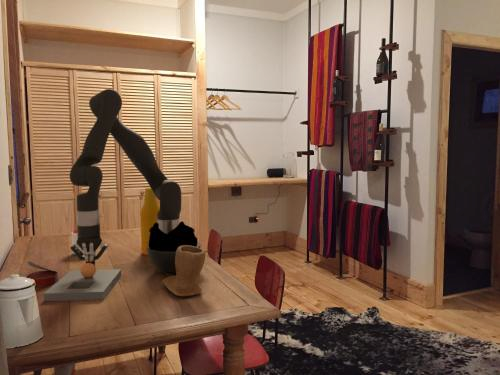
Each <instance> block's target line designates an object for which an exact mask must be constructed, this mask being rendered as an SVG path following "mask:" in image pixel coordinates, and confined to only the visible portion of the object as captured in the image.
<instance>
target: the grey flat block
mask: <svg viewBox="0 0 500 375" xmlns="http://www.w3.org/2000/svg"><path fill="white" fill-rule="evenodd" d="M121 277H122V269H121V268H119V269H117V268H115V269H113V268H112V269H96V272H95V274H94V275H93V276H92V277H90V278H86V277H84V276H82V274H81V269H80V270H78V269H77V270H70V271H68V272H67V273H66V274H65V275H64V276H62V277H61V278H60V279H58V282H56V283H55V284H52V286H50V287H49V289H47V290H46V291H45V292H44V293H43V301H44V302H64V301H67V302H68V301H69V302H70V301H99V300H100V301H101V300H103V301H104V300H105V299H106V297H107V296H108V295H109V293H110V292H111V290H112V289H113V288H114V286H115V285H116V284H117V282H118V281H119V279H120V278H121Z"/></svg>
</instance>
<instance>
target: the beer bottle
mask: <svg viewBox="0 0 500 375" xmlns="http://www.w3.org/2000/svg"><path fill="white" fill-rule="evenodd" d="M143 200H144V202H143V205H142V207H141V209H140V214H139V216H140V218H139V219H140V241H141V243H140V246H141V248H140V251H141V254H142V255H144V256H148V252H147V246H148V245H149V236H150V232H149V230H150V228H151V227H152V226H153V224H154V223H156V222H157V213H158V212H159V210H160V204H159V203H158V198H157V197H156V196H155V194H154V193H153V191H152V189H151V187H146V188H145V190H144V199H143Z"/></svg>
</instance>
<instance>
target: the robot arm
mask: <svg viewBox="0 0 500 375" xmlns="http://www.w3.org/2000/svg"><path fill="white" fill-rule="evenodd" d="M122 99H123V98H122V96H121V95H120V93H119V92H118V91H116V90H115V89H113V88H107V89H104V90H101V91H100V92H98V93H96V94H95V95H93V96H91V97H90V99H89V102H88V105H89V108H90V111H91V113H92V114H93V115H94V116H95V118H96V121H95V123H94V124H93V125H92V127H91V129H90V130H89V133H88V135H86V138H85V141H84V144H83V146H82V150H81V153H80V155H79V156H78V158H77V159H76V161H75V162H74V164H73V165H72V166H71V169H70V171H69V180H70V182H71V184H72V185H73V186H76V187H88V190H87V191H86V192H82V193H78V194H77V196H76V230H77V235H78V239H77V243H76V244H75V245H73V246H72V245H71V246H70V250H71V251H73V252H74V253H75V254H76V257H77V258H78V259H79V260H80V261H85V264H86V263H92V264H93V265H94V266H95V267H96V261H97V260H99V259H100V258H101V256H103V254H104V253H105V252H106V250H107V249H108V247H109V244H108V243H105V242H103V239H102V236H101V218H100V216H101V214H100V209H99V208H100V207H99V196H100V192H101V187H102V183H103V179H104V176H103V171H102V169H101V168H100V167H99V166H97V165H98V164H100V163H101V162H102V160H103V156H104V153H105V151H106V150H105V149H106V144H107V141H108V140H109V139H108V138H109V136H110V135H111V136H112V137H113V139H114V140H115V142H117V144H118V145H119V146H120V149H122V150H123V153H124V154H125V155H126V156H127V158H128V160H130V162H131V163H132V164H133V166H134V167H135V169H137V171H138V172H139V173H140V174H141V176H143V178H144V179H145V180H146V182H147V184H148V185H149V188H151V189H152V191H153V193H154V194H155V196H156V199H157V200H159V207H160V210H159V212H158V213H157V223H159V229H160V230H161V231H163V232H164V233H165V234H168V233H169V232H170V231H172V230H173V229H175V228H176V227H177V225H179V223H180V222H181V219H180V218H181V211H182V190H181V189H182V188H181V186H180V185H179V183H178V182H176V181H174V180H170V179H168V177H167V176H166V175H165V173H164V172H162V170H161V169H160V167H159V166H158V163H157V161H156V157H155V154H154V153H153V151H152V149H151V147H150V146H149V145H148V143H147V141H146V140H145V138H144V137H143V136H142V135H140V134H139V133H138V132H136V131H134V130H133V129H131V128H130V127H128V126H126V125H125V124H124V123H123V122H122V120H120V119H119V118H118V115H119V113H120V111H121V110H122V109H121V108H123V107H122V106H123V100H122ZM79 247H80V248H81V249H82V250H83V253H84V254H83V253H82V251H81V250H80V249H79ZM98 248H100V250H99V251H98V253H97V250H98ZM73 252H72V253H73ZM74 253H73V254H74ZM96 253H97V254H96ZM75 254H74V255H75Z"/></svg>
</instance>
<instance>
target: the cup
mask: <svg viewBox="0 0 500 375" xmlns="http://www.w3.org/2000/svg"><path fill="white" fill-rule="evenodd" d="M77 239H78V235H77V229H75V230H73V231H71V246H73V245H75V244H76V243H77ZM79 249H80V250H81V251H82V253H83V250H82V249H81V248H80V247H79ZM71 251H72V250H71ZM72 254H73V255H76V254H75V253H74V252H73V251H72ZM83 254H84V253H83ZM76 256H77V255H76Z"/></svg>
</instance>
